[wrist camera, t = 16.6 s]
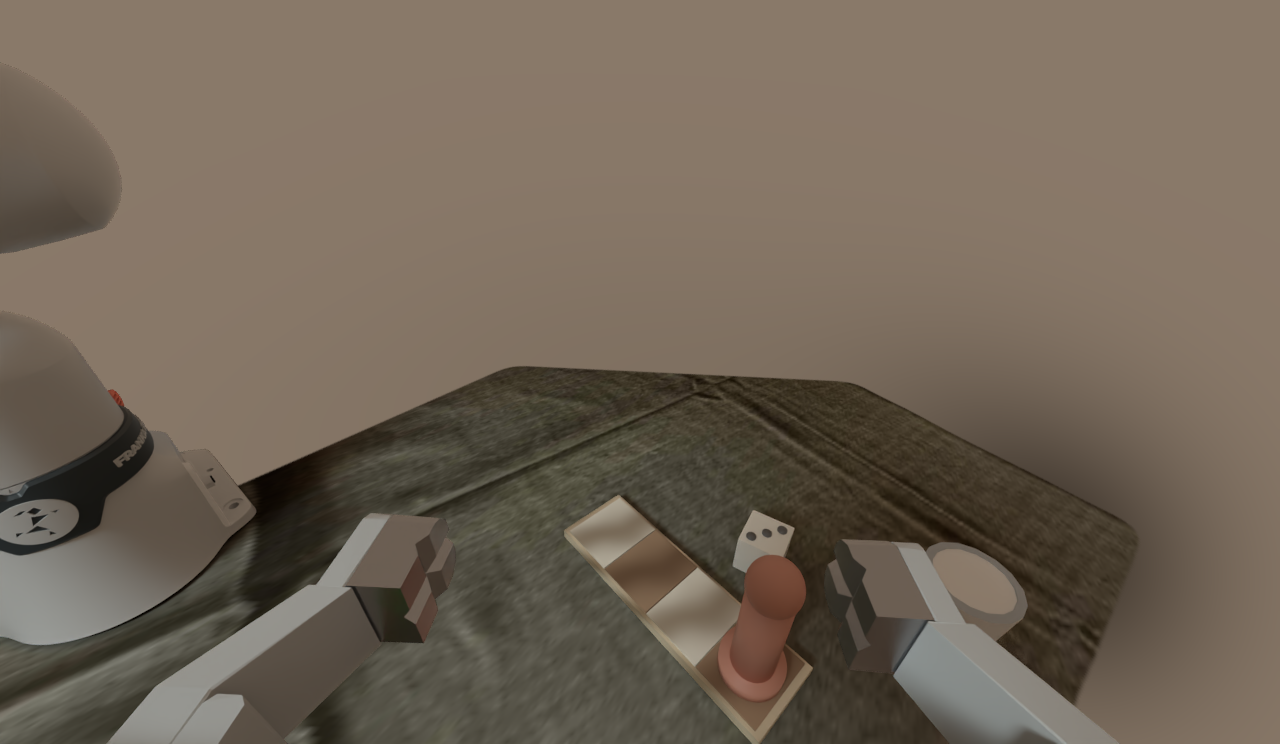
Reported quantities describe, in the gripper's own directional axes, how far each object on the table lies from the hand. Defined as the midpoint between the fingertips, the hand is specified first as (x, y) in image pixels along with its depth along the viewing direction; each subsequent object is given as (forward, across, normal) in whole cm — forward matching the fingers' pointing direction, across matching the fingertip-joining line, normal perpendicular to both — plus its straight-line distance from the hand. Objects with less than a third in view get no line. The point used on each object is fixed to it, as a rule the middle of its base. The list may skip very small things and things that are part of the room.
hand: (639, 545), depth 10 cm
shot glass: (+16, -25, +30) cm, 43 cm away
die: (+22, -11, +30) cm, 39 cm away
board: (+18, -3, +30) cm, 35 cm away
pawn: (+12, -9, +29) cm, 32 cm away
